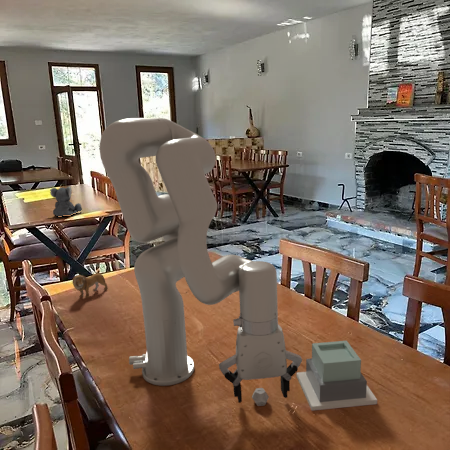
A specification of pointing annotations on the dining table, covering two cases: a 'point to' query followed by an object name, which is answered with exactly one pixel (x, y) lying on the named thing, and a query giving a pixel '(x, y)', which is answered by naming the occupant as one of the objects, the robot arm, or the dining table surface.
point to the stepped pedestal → (334, 378)
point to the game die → (260, 396)
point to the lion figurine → (88, 283)
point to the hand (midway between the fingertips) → (261, 396)
